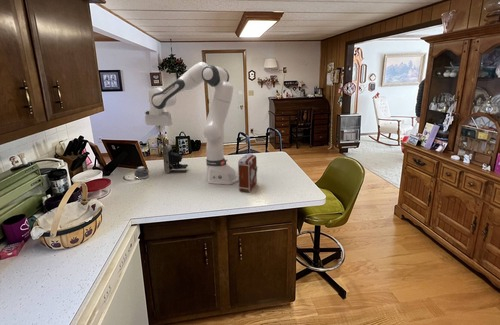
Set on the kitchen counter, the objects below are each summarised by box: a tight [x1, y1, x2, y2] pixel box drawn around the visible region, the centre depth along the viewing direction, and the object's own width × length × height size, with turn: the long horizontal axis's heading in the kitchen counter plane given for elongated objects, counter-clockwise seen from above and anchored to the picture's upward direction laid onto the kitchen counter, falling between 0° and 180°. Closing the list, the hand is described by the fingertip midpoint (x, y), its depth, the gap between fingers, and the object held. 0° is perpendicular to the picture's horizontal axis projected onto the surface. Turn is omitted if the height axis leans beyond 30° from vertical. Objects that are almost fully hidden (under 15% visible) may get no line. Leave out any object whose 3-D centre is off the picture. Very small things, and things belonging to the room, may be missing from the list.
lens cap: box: [136, 165, 146, 173], centre depth 196 cm, size 5×5×5 cm
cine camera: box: [237, 153, 259, 193], centre depth 174 cm, size 9×19×20 cm, turn 161°
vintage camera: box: [162, 143, 189, 174], centre depth 205 cm, size 10×16×20 cm, turn 89°
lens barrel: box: [133, 168, 150, 180], centre depth 196 cm, size 9×9×4 cm
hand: (160, 131), depth 200 cm, fingers closed
